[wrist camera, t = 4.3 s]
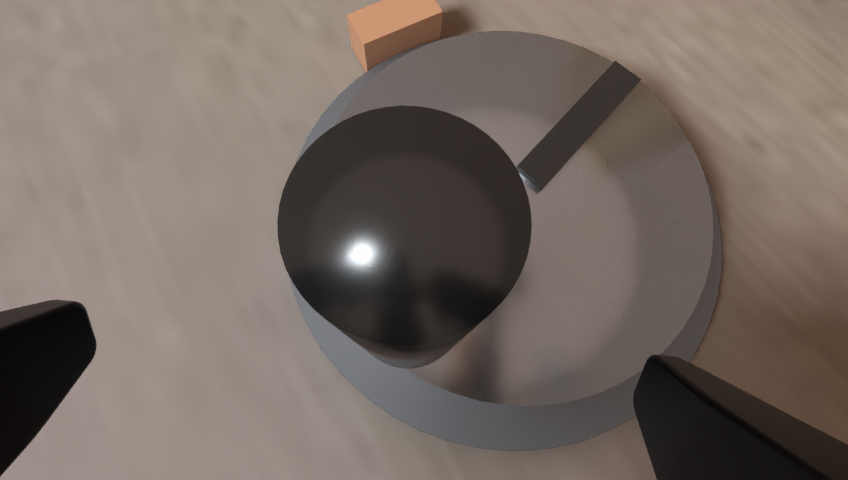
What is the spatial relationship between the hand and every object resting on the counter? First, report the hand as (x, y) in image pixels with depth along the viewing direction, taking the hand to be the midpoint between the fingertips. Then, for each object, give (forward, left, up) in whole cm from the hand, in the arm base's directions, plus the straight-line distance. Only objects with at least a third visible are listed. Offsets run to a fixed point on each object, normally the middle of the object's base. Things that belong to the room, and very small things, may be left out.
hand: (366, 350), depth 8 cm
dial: (+4, +6, -10) cm, 12 cm away
